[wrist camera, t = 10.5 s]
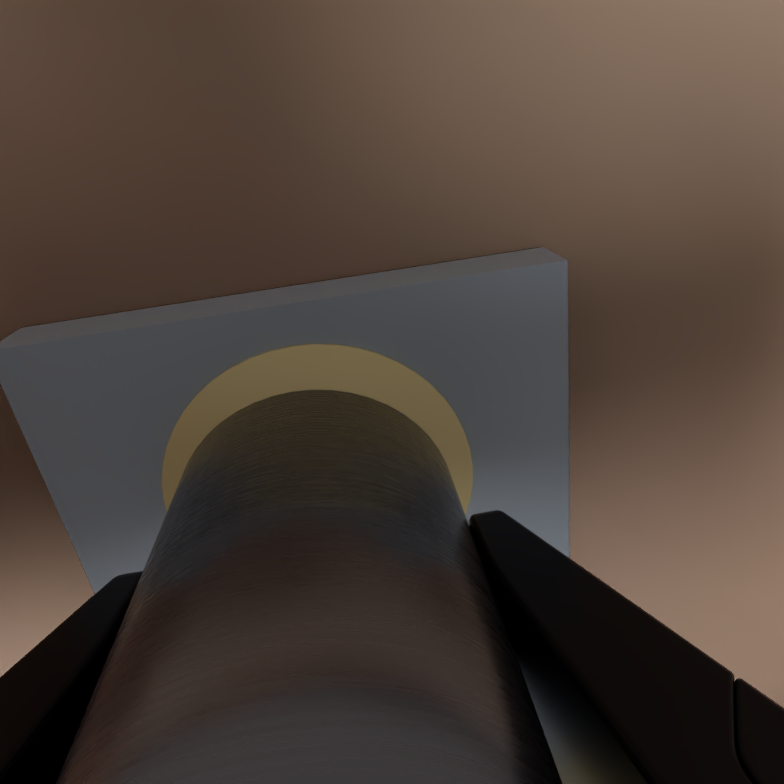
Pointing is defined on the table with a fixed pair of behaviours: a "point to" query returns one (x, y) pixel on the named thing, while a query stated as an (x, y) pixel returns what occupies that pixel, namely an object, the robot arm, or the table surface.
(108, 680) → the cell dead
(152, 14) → the table surface
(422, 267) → the blue grey board
